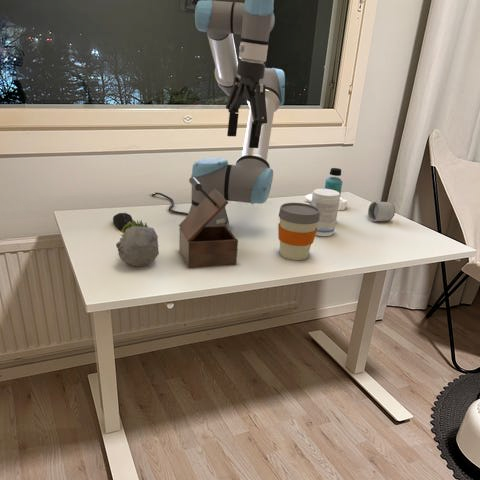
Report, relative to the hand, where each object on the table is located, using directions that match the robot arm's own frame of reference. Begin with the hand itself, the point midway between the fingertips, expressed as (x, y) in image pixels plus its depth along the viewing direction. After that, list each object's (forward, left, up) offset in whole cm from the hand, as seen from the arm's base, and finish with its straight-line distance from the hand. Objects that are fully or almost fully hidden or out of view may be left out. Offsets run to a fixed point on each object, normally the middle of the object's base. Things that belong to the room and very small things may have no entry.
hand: (242, 141), depth 141 cm
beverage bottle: (-8, +44, -32) cm, 55 cm away
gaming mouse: (-25, -30, -32) cm, 50 cm away
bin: (+9, -14, -32) cm, 36 cm away
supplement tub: (+1, +34, -32) cm, 47 cm away
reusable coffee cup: (+15, +13, -32) cm, 38 cm away
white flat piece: (-27, +58, -32) cm, 72 cm away
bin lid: (+8, -16, -18) cm, 26 cm away
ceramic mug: (-4, +66, -32) cm, 74 cm away
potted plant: (+3, -35, -32) cm, 47 cm away
